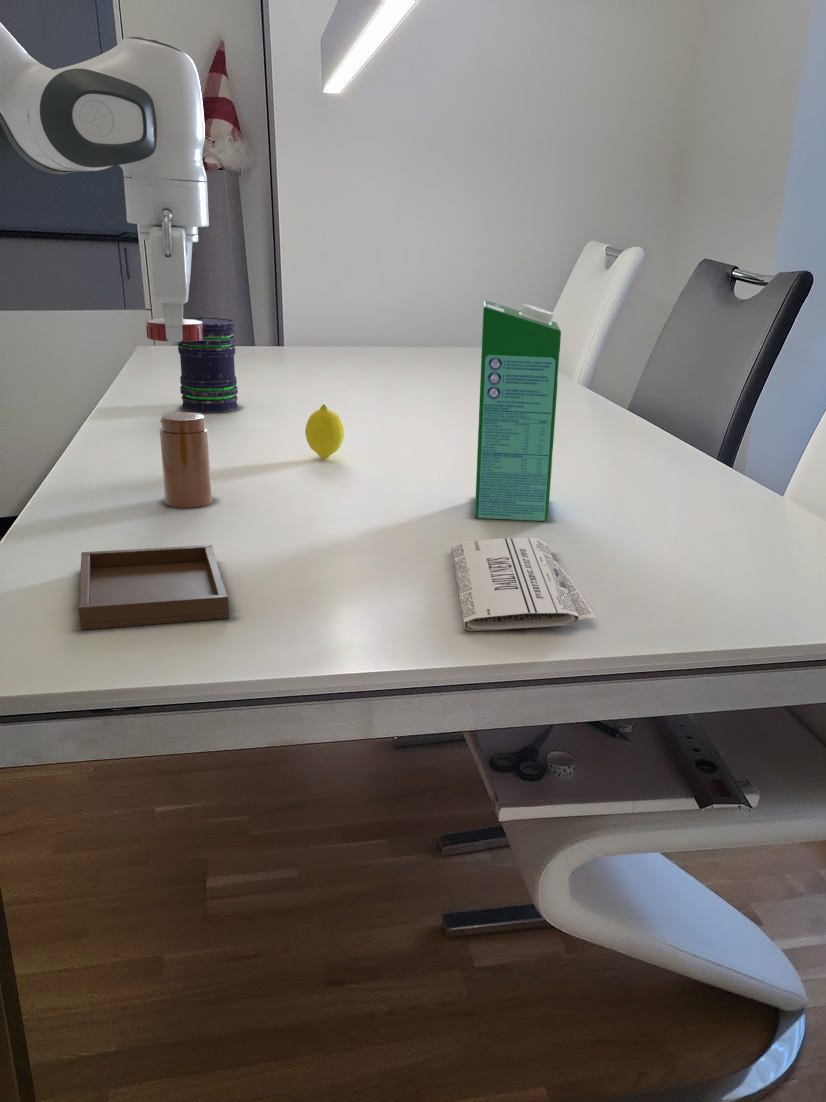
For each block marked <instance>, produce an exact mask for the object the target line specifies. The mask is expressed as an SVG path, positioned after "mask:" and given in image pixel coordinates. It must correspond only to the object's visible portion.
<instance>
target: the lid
mask: <svg viewBox="0 0 826 1102" xmlns="http://www.w3.org/2000/svg"><path fill="white" fill-rule="evenodd" d="M145 322H146V326H145V327H146V329H145V330H146V338H147V339H148V340H151V341H158V342H169V341H167V339H166V329H165V321H164V318H151V319H147V320H146V321H145ZM202 325H203V324H202V322H201V321H197V320H189V319H182V333H183V339H182V341H181V342H190V341H199V340H203V339H204V338H203V326H202ZM169 343H170V342H169Z"/></svg>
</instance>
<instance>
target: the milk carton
mask: <svg viewBox="0 0 826 1102" xmlns="http://www.w3.org/2000/svg"><path fill="white" fill-rule="evenodd" d="M554 316H555V313H553V312H552V311H550V310H546V309H543V308H541V307H537V306H534V305H532V304H526V303H522V305H521V307H520V310H518V309H515V308H512V307H508V306H505V305H502V304H499V303H495V302H493V301H489V300H486V299H485V300H484V301H483V311H482V331H481V353H480V354H481V357H480V360H481V361H480V377H479V378H480V380H479V381H480V383H479V404H478V405H479V406H478V428H477V429H478V431H477V449H476V450H477V452H476V453H477V454H476V473H475V474H476V475H475V480H476V481H475V500H474V501H475V503H474V518H475V519H489V520H490V519H491V520H492V519H494V520H515V521H536V522H539V521H540V522H548V521H549V512H550V511H549V510H550V495H551V482H552V468H553V466H552V465H553V455H554V454H553V452H554V441H555V439H554V438H555V425H556V412H557V411H556V410H557V398H558V384H559V371H560V354H561V343H562V342H561V340H562V330H561V328H560V327H559V324H558V323H557V322H556V321H553V319H554Z"/></svg>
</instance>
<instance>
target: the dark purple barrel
mask: <svg viewBox="0 0 826 1102" xmlns="http://www.w3.org/2000/svg"><path fill="white" fill-rule="evenodd" d="M183 319H189V320H197V321H201V322H202V324H203V325H202V326H203V338H204V339H203V340H199V341H190V342H177V343H178V344H177V352H178V354H179V359H180V360H179V362H180V377H179V379H180V381H179V382H180V387H179V389H180V391H179V392H180V395H181V400H182V404H181V408H182V410H184V411H187V412H190V413H198V414H219V413H220V414H221V413H228V412H234V411H236V410H238V408H239V405H238V401H237V400H238V396H237V395H238V394H239V391H238V386H237V384H238V383H237V381H238V380H237V376H236V369H235V368H236V367H235V355H236V350H237V349H236V345H235V344H236V336H235V329H234V327H235V321H234V320H232V319H228V318H220V317H183Z"/></svg>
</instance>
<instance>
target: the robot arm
mask: <svg viewBox="0 0 826 1102" xmlns="http://www.w3.org/2000/svg"><path fill="white" fill-rule="evenodd" d="M197 70H198V69H197V67H196V65H195V63H194V61H193V59H192V58H191V57H190V56H189V55H188V54H187V53H186V52H184V51H183V50H182V49H180V48H179V47H176V46H174V45H172V44H169V43H166V42H164V41H160V40H157V39H153V38H146V37H141V36H130V37H129V36H128V37H124V38H123V39H121V41H120V42H119V43H118V44H117V45H115V46H113V48H111V49H109V50H107V51H105V52H103V53H102V54H99V55H97V56H95V57H92V58H90V59H87V60H84V61H81V62H78V63H75V64H71V65H68V66H64V67H59V68H54V69H52V68H51V67H47V66H45V64H42V63H41V62H39V61H37V60H36V59H35V58H33V57H32V56H31V55H30V54H29V53H28V52H27V51H26V50H25V48H24V47H23V46H21V44H20V43H19V42H18V41H17V40H16V38H14V36H13V35H12V34H11V32H9V31H8V29H7V28H6V27H5V25H3V24H2V22H0V126H1V127H2V130H3V132H4V134H5V136H6V138H7V139H8V142H9V143H10V144H11V146H12V147H13V149H14V150H15V151H16V153H17V154H18V155H19V156H20V157H21V158H22V159H23V160H24V161H25V162H27V163H28V164H29V165H30V166H32V167H34V168H36V169H37V170H40V171H43V172H45V173H49V174H53V175H68V174H72V173H76V172H95V171H102V170H107V169H109V168H111V167H114V166H119V167H120V168H121V170H122V174H123V184H124V185H123V186H124V198H125V212H126V222H127V223H128V224H133V225H138V229H139V239H140V240H141V241H148V242H149V259H150V260H149V261H150V275H151V290H152V291H151V292H152V298H153V301H154V302H155V303H157V304H161V305H162V306H161V307H162V313H163V319H164V321H165V329H166V339H167V341H166V342H168V341H169V343H178V342H181V341H182V339H183V333H182V319H183V318H184V304H186V303H188V301H189V294H190V284H191V283H190V282H191V275H192V274H191V272H192V258H193V257H192V255H193V243H199V235H198V234H199V228H208V227H209V226H210V214H209V195H208V191H209V190H208V178H207V173H206V171H205V166H204V162H203V151H204V145H205V141H206V132H205V131H206V129H205V116H204V105H203V96H202V90H201V89H202V88H201V83H200V78H199V74H198V71H197Z"/></svg>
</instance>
